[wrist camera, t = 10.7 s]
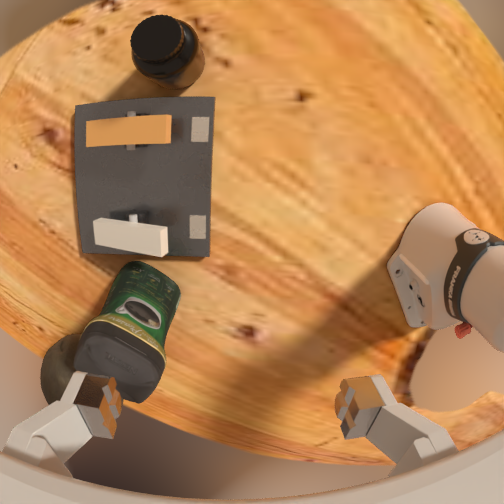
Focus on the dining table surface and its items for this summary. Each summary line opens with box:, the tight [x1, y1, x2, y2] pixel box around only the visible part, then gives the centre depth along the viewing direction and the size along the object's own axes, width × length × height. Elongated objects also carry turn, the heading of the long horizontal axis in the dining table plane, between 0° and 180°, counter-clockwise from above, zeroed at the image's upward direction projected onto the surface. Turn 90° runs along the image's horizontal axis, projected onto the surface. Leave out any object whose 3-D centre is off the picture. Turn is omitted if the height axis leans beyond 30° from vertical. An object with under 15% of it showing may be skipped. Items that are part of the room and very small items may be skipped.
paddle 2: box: [93, 214, 168, 257], centre depth 34 cm, size 10×4×2 cm, turn 86°
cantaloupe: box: [41, 334, 123, 408], centre depth 39 cm, size 14×14×15 cm
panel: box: [75, 97, 215, 257], centre depth 35 cm, size 18×20×3 cm
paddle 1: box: [86, 111, 172, 150], centre depth 30 cm, size 10×4×2 cm, turn 86°
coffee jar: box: [73, 261, 181, 403], centre depth 34 cm, size 10×8×19 cm
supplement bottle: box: [130, 15, 205, 89], centre depth 26 cm, size 7×7×12 cm
